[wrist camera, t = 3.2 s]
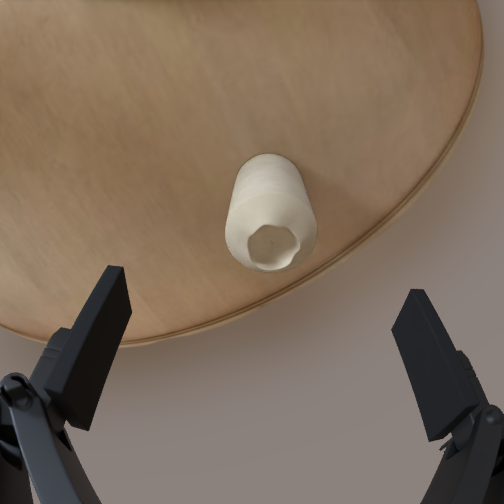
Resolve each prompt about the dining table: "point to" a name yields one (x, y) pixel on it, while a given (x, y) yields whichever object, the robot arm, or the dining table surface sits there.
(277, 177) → the candle
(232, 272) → the dining table surface
